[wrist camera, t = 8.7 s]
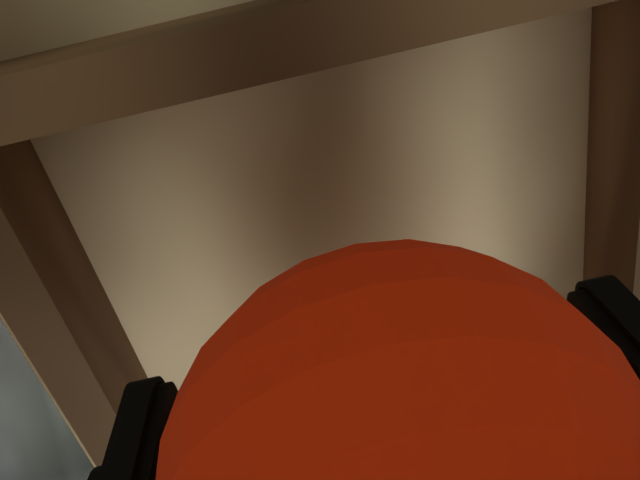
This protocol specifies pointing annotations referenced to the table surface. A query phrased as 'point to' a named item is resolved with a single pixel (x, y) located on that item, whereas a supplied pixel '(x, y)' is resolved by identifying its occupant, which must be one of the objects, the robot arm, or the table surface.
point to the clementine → (405, 378)
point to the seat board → (291, 160)
